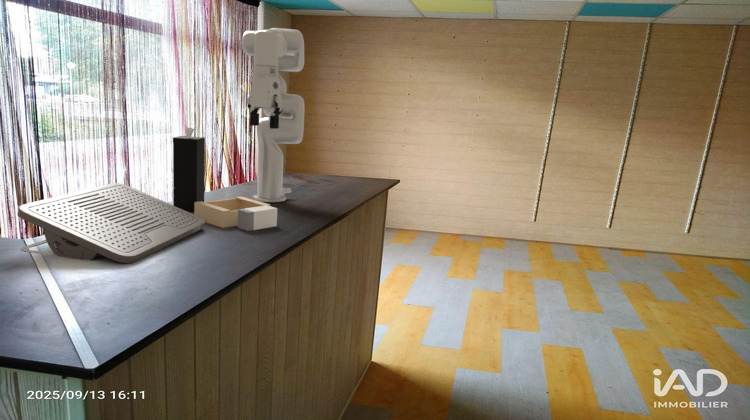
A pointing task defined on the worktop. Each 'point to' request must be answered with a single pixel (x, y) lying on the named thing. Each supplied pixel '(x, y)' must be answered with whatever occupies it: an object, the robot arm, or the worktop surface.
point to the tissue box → (188, 170)
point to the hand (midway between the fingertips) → (264, 126)
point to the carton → (224, 210)
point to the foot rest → (108, 223)
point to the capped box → (257, 218)
